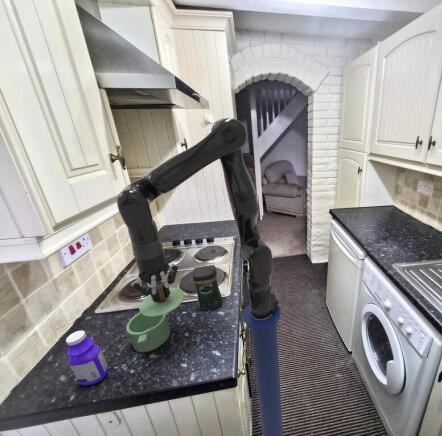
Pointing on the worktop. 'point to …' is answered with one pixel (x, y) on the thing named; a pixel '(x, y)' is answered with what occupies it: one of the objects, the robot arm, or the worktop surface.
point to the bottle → (86, 359)
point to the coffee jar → (207, 287)
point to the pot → (148, 332)
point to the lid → (161, 302)
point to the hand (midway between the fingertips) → (162, 298)
